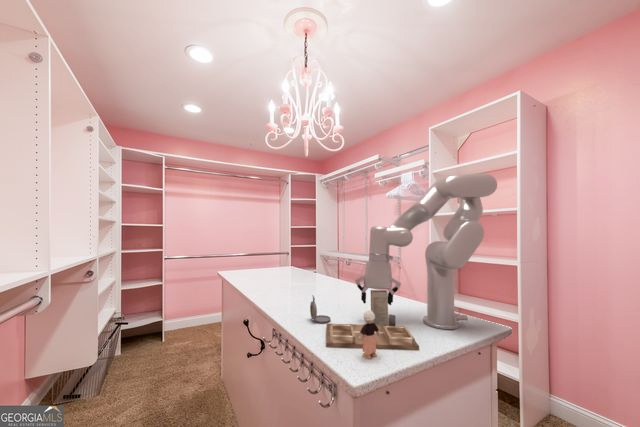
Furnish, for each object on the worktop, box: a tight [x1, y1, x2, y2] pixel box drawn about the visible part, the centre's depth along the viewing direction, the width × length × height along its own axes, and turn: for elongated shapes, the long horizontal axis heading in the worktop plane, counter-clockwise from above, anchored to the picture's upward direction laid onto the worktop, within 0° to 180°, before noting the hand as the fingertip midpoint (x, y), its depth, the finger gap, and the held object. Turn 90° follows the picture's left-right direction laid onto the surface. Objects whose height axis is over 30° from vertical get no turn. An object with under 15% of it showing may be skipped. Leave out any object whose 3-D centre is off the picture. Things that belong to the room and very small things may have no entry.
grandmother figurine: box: [359, 309, 380, 360], centre depth 75 cm, size 8×4×13 cm, turn 133°
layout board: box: [325, 314, 420, 351], centre depth 88 cm, size 28×16×6 cm, turn 88°
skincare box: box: [370, 289, 389, 325], centre depth 101 cm, size 6×4×12 cm
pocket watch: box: [309, 294, 331, 324], centre depth 102 cm, size 8×8×10 cm
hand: (376, 303), depth 101 cm, fingers open, 9 cm apart
